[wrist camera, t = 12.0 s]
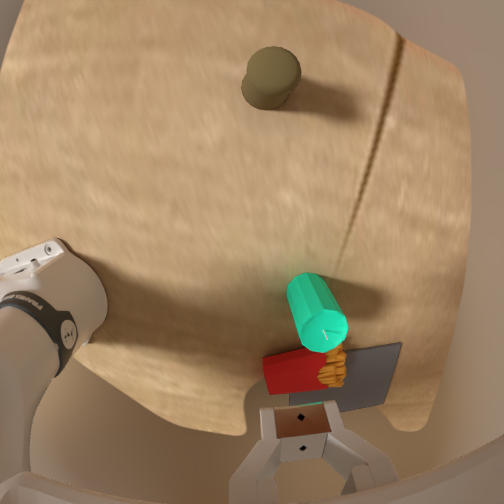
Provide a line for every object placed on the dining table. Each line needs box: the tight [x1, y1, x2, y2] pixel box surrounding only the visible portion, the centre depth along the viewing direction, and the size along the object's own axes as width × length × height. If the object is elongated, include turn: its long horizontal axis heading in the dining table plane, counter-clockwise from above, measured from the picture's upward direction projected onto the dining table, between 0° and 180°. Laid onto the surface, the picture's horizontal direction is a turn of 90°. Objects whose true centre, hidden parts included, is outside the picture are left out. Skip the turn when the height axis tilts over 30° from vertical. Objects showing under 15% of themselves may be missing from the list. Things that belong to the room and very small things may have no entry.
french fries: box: [263, 342, 347, 395], centre depth 46 cm, size 9×4×13 cm
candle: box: [286, 273, 349, 353], centre depth 39 cm, size 6×6×12 cm
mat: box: [289, 342, 402, 412], centre depth 51 cm, size 20×16×1 cm
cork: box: [241, 46, 301, 110], centre depth 29 cm, size 6×6×11 cm
